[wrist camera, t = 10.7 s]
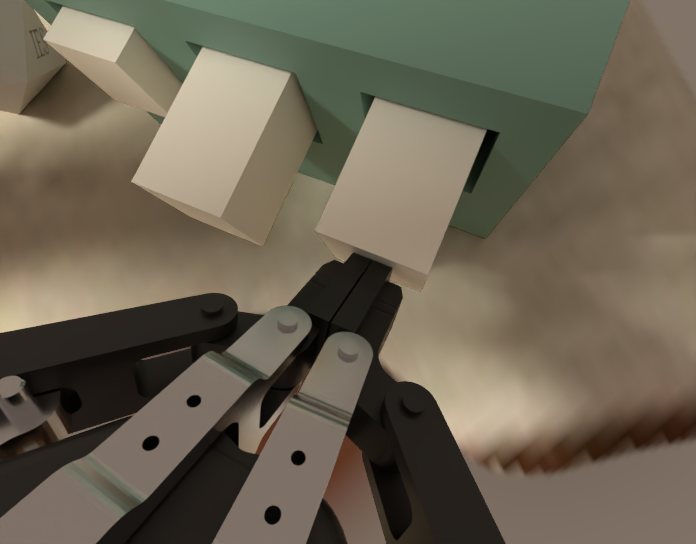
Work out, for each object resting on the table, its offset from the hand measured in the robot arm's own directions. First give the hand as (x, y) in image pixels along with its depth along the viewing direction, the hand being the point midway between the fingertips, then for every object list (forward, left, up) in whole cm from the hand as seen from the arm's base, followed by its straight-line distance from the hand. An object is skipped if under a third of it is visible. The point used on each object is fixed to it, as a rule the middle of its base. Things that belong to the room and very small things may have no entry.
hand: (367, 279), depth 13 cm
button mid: (-6, +5, -2) cm, 8 cm away
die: (-26, +15, -7) cm, 31 cm away
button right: (+1, +3, -2) cm, 4 cm away
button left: (-11, +11, -2) cm, 16 cm away
